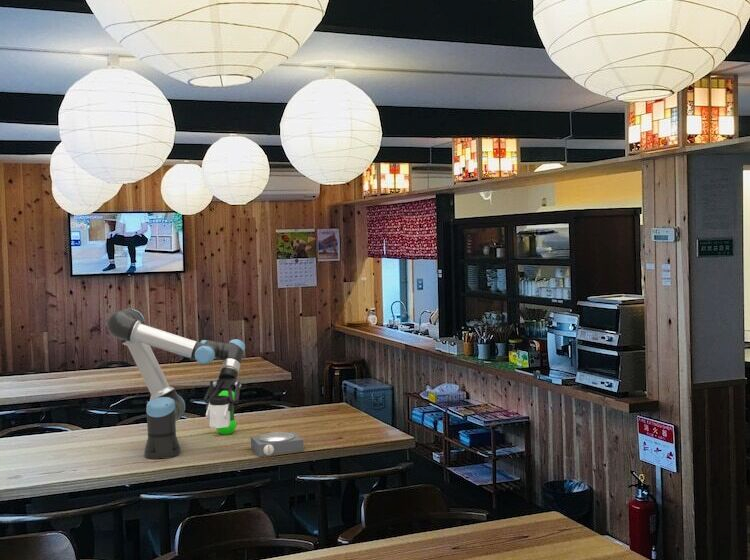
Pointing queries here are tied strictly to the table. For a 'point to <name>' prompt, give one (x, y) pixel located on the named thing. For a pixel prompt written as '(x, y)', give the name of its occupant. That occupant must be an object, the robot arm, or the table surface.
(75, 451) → the table surface
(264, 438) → the scale pan
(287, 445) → the scale body
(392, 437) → the table surface
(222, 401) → the jar
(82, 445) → the table surface
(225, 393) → the plastic bottle
